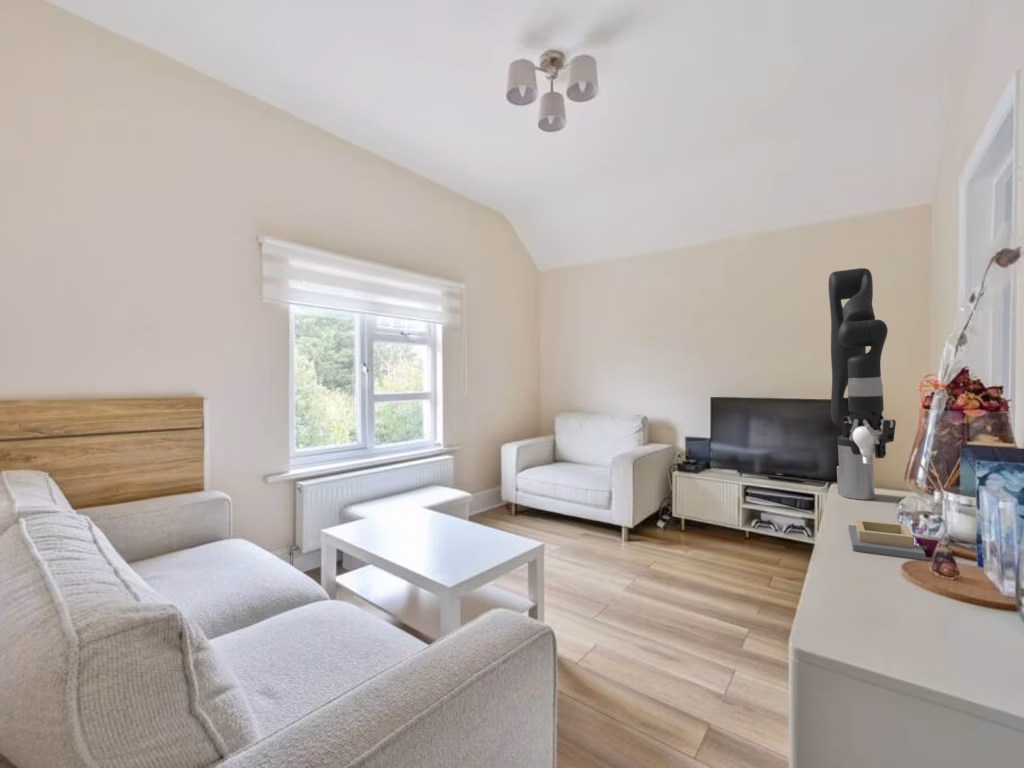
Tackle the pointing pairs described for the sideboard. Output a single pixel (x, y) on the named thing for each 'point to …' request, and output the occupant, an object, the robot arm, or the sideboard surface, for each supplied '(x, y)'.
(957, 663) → the sideboard surface
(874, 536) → the bulb socket
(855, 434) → the lightbulb
